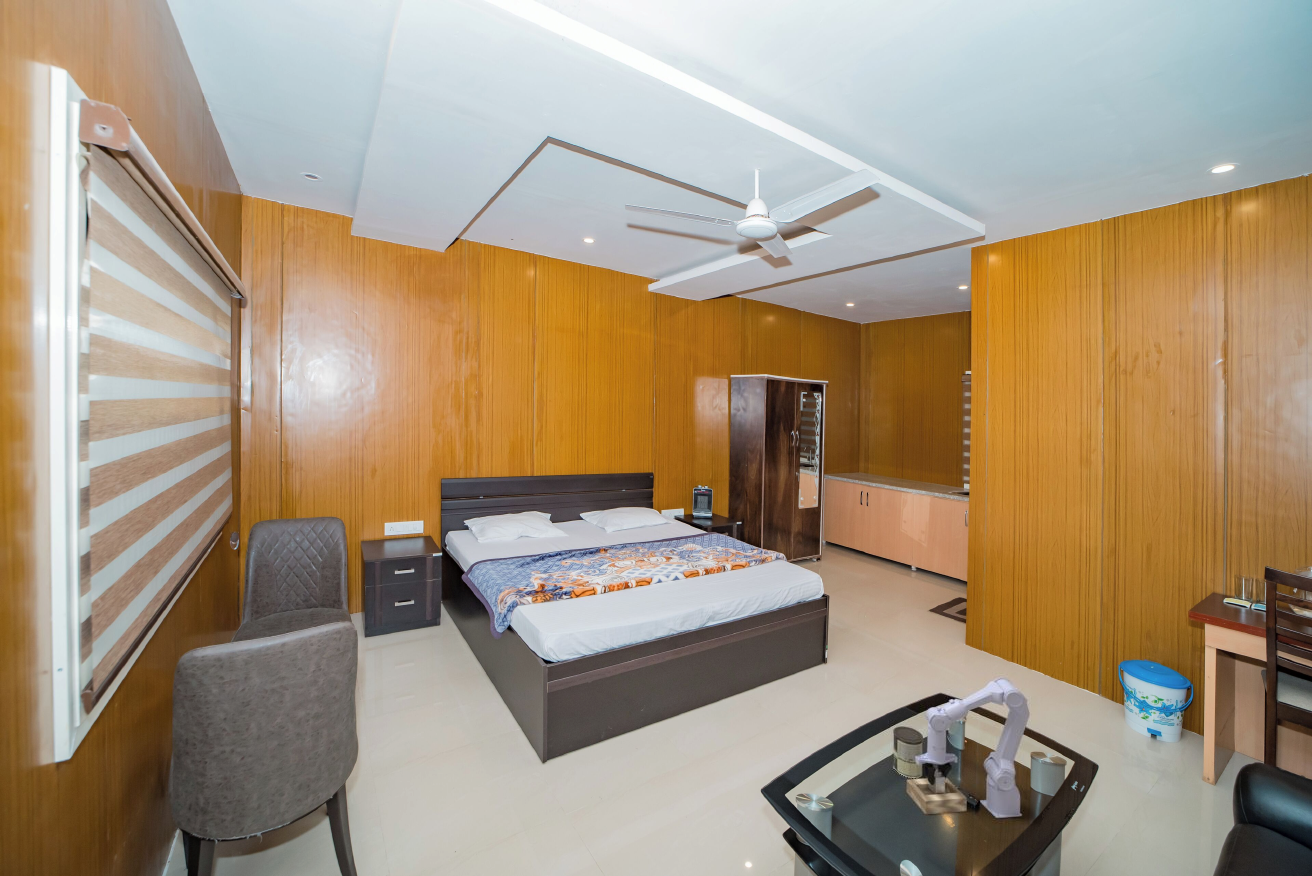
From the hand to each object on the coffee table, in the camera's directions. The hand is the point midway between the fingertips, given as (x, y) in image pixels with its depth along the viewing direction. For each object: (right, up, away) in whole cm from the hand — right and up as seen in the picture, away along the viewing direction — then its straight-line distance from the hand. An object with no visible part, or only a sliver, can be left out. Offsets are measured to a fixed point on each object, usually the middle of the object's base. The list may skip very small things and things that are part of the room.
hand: (936, 782), depth 185 cm
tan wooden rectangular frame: (0, -7, 0) cm, 7 cm away
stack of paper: (0, -3, 0) cm, 3 cm away
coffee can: (-2, -7, +17) cm, 18 cm away
